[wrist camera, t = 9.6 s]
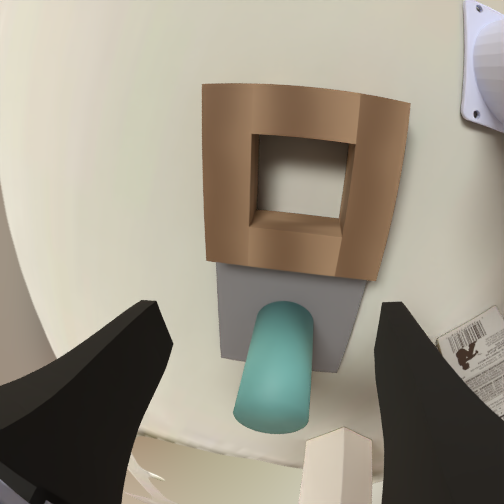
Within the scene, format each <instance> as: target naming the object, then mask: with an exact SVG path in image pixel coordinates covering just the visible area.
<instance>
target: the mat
mask: <svg viewBox="0 0 504 504" xmlns="http://www.w3.org/2000/svg"><path fill="white" fill-rule="evenodd" d="M216 272H217V294H218V314H219V331H220V348H221V358H226V359H231V360H237V361H243V362H246V359H247V355H248V351H249V346H250V342H251V338H252V334H253V330H254V326H255V322H256V317H257V314H258V312H259V311H260V310H261V309H262V308H263V307H264V306H266V305H267V304H270V303H273V302H277V301H289V302H294V303H297V304H299V305H301V306H303V307H304V308H306V309H307V310H308V311H309V312H310V314H311V315H312V318H313V352H312V371H320V372H331V373H337V371H338V369H339V366H340V363H341V361H342V358H343V355H344V352H345V349H346V346H347V343H348V340H349V337H350V334H351V331H352V328H353V325H354V322H355V319H356V316H357V312H358V309H359V306H360V303H361V299H362V296H363V292H364V289H365V285H366V282H367V280H362V279H353V278H344V277H335V276H326V275H318V274H309V273H301V272H292V271H284V270H276V269H267V268H259V267H251V266H243V265H235V264H227V263H219V262H216Z"/></svg>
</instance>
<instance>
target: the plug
mask: <svg viewBox="0 0 504 504" xmlns="http://www.w3.org/2000/svg"><path fill="white" fill-rule="evenodd" d="M312 352H313V318H312V315H311V314H310V312H309V311H308V310H307V309H306V308H304V307H303V306H301V305H299V304H297V303H294V302H289V301H277V302H273V303H270V304H267V305H266V306H264V307H263V308H262V309H261V310H260V311H259V312H258V314H257V317H256V322H255V326H254V330H253V334H252V338H251V342H250V346H249V351H248V355H247V359H246V363H245V367H244V371H243V375H242V379H241V383H240V387H239V391H238V395H237V399H236V403H235V407H234V411H233V414H234V417H235V418H236V420H237V421H238V422H239V423H241V424H242V425H244V426H246V427H248V428H250V429H252V430H255V431H259V432H263V433H270V434H286V433H292V432H295V431H298V430H300V429H302V428H304V427H305V426H306V425H307V423H308V419H309V405H310V390H311V373H312Z"/></svg>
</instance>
